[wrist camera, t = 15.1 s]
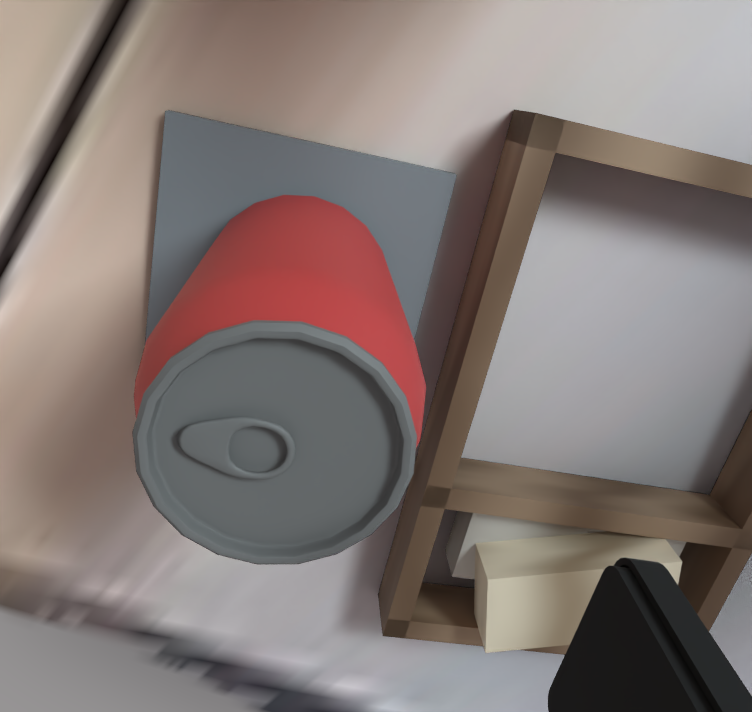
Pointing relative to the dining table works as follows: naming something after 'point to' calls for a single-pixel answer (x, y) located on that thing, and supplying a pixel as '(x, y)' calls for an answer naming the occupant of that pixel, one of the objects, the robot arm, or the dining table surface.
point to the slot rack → (541, 487)
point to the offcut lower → (502, 537)
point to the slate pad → (288, 177)
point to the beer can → (281, 389)
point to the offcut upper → (549, 584)
